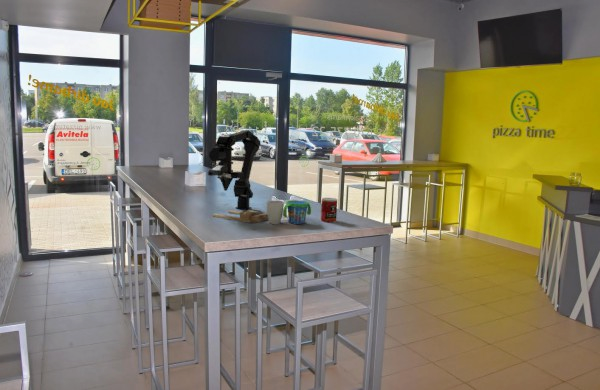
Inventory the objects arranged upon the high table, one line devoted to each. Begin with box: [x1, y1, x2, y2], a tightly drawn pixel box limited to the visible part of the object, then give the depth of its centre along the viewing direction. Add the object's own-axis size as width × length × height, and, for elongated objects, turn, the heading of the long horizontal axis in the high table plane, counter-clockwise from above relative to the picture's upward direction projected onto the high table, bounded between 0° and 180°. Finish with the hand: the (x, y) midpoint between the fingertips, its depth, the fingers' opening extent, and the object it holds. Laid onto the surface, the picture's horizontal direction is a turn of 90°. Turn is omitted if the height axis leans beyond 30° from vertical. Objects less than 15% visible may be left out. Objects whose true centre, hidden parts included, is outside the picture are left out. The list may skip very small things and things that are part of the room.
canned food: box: [320, 197, 338, 223], centre depth 239 cm, size 8×8×11 cm
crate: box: [239, 209, 260, 220], centre depth 235 cm, size 7×6×4 cm
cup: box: [266, 200, 285, 225], centre depth 230 cm, size 8×8×10 cm
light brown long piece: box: [211, 210, 269, 224], centre depth 239 cm, size 14×25×3 cm, turn 58°
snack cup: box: [282, 199, 312, 225], centre depth 231 cm, size 16×10×10 cm
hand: (225, 190), depth 247 cm, fingers closed
